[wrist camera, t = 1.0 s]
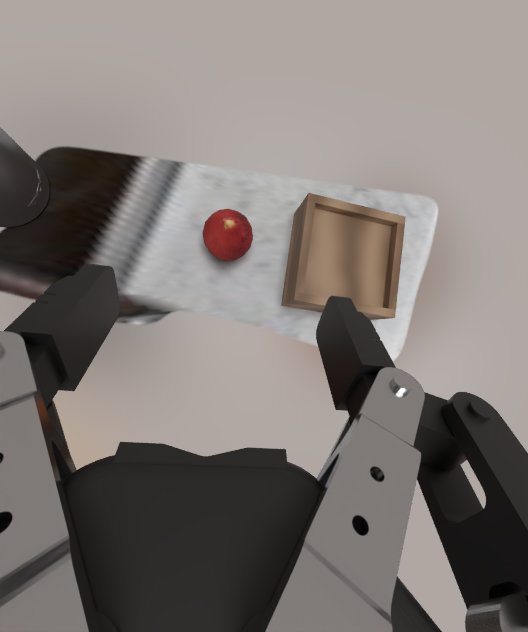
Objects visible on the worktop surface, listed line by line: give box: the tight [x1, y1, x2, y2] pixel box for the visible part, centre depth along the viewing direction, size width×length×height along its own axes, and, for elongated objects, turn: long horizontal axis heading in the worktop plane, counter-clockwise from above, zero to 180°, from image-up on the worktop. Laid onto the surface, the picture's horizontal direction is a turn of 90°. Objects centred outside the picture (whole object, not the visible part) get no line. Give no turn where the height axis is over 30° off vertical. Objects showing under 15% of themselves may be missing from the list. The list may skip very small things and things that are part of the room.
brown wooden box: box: [282, 193, 405, 320], centre depth 36 cm, size 13×13×6 cm
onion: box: [203, 209, 253, 261], centre depth 33 cm, size 6×6×8 cm
